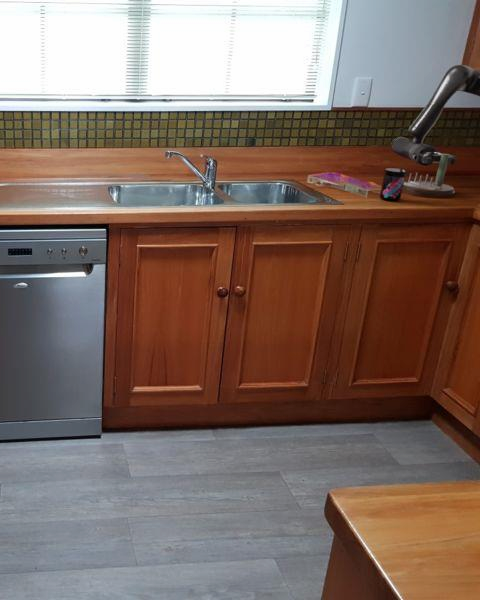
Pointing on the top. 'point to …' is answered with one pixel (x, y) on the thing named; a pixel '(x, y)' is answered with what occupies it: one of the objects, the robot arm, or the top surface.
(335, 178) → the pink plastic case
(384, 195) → the supplement container
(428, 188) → the dish rack
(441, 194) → the turntable base
